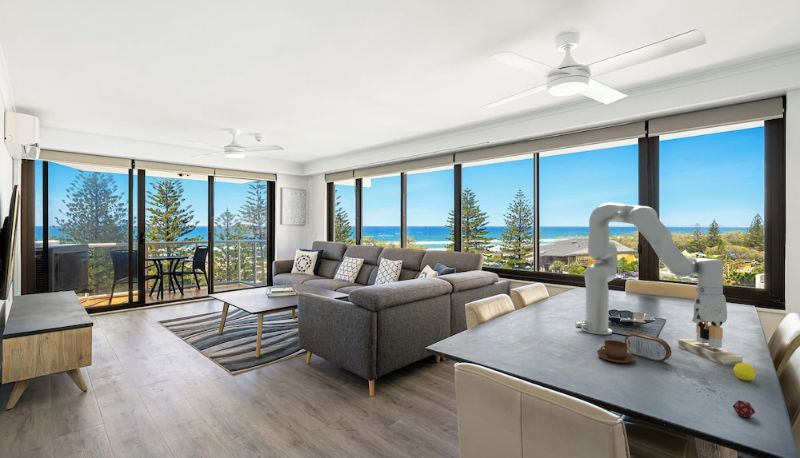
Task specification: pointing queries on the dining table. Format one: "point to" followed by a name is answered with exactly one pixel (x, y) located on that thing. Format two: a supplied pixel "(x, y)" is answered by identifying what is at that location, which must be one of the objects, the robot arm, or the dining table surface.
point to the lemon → (744, 371)
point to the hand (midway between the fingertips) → (708, 338)
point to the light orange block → (711, 336)
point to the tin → (648, 347)
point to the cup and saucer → (615, 352)
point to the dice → (743, 409)
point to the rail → (710, 352)
